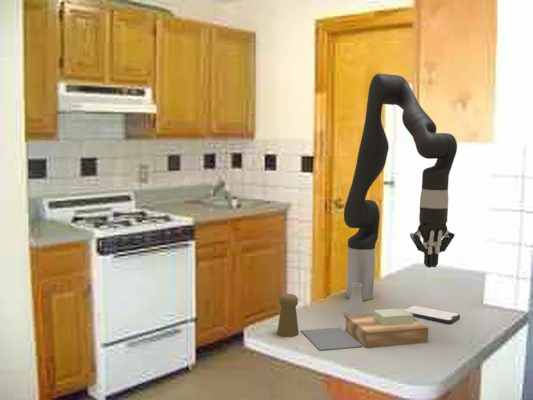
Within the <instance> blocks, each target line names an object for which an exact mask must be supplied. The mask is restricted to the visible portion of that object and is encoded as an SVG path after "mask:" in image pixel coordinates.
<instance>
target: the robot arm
mask: <svg viewBox="0 0 533 400" xmlns="http://www.w3.org/2000/svg"><path fill="white" fill-rule="evenodd" d="M367 93H368V94H367V100H366V101H367V102H366V111H365V119H364V125H363V130H362V133H361V135H362V136H361V139H360V144H359V147H358V153H357V158H356V165H355V169H354V173H353V177H352V182H351V185H350V187H349V188H350V189H349V192H348V195H347V198H346V201H345V206H344V209H343V220H344V223H345V225H346V226H347V227H348V228H349V229H358V230H357V232H356V233H355V234H353V235H352V236H350V237H349V238H348V240H347V255H346V257H347V259H346V266H347V267H346V284H345V286H346V287H345V288H346V291H345V296H346V298H349V299H350V298H351V294H352V284H353V283H359V284H362V287H361V296H362V300H363V301H368V300H373V298H374V288H375V285H374V284H375V264H376V263H375V261H376V243H377V240H378V239H379V228H380V218H381V217H380V215H381V214H380V213H381V212H380V208H379V205H378V204H377V202H375V201H374V200H371V199H366V198H367V195H368V192H369V190H370V188H371V187H372V185H373V184H374V182H375V181H376V180H377V179H378V177H379V176H380V174H381V173H382V172H383V170H384V168H385V166H386V163H387V158H388V152H389V149H390V148H389V140H388V138H387V137H388V136H387V135H386V134H387V133H386V131H385V130H384V126H383V123H382V113H383V112H382V111H383V106H384V105H391V106H398V107H399V108H401V110H402V116H401V120H402V123H403V126H404V127H405V129H406V130H407V132H408V133H409V134H410V135H411V136H412V138H413V141H414V144H415V148H416V151H417V153H418V154H419V156H421V157H422V158H424V159H428V160H430V159H431V160H433V159H435V160H436V162H435V164H434V165H432V166H430V167H426V168H424V169H423V171H422V177H421V179H422V180H421V191H420V199H419V214H418V215H419V216H418V217H419V218H418V219H419V220H418V221H419V225H418V228H417V230H416V231H415V232H414V233H413V232H411V233H410V234H409V237H410V238H411V241H412V242H413V244H414V245H415V247H416V249H417V250H418V251H419V252H421V253H422V254H423V263H424V266H425V267H426V268H430V269H431V268H437V266H438V264H439V255H440V253H443V252H445V251H446V250H447V248H448V247H449V245H450V244H451V242H452V241H453V239H454V238H455V235H456V234H455V233H453V232H451V231H449V230H448V226H447V223H448V215H449V214H448V213H449V212H448V211H449V181H450V180H449V179H450V177H449V176H450V172H451V169H452V167H453V163H454V161H455V158H456V155H457V152H458V151H457V150H458V144H457V139H456V137H455V136H454V135H453V134H452V133H448V132H447V133H446V132H437V125H436V123H435V122H434V121H433V119H432V118H431V117H430V116H429V115H428V114H427V112H426V111H425V110H424V109H423V107H422V106H421V105H420V103H419V101H418V99H417V97H416V95H415V94H414V91H413V90H412V88H411V86H410V84H409V83H408V81H407V79H406V78H404V77H403V76H401V75H398V74H388V73H376V74H375V75H373V76H372V78H371V80H370V84H369V88H368V92H367ZM421 239H422V240H421Z"/></svg>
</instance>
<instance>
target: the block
mask: <svg viewBox="0 0 533 400" xmlns="http://www.w3.org/2000/svg"><path fill="white" fill-rule="evenodd" d="M372 314H373V319H374V320H375V321H377V322H378V323H380V324H381V325H382V326H388V325H401V324H413V318H414V317H413V314H411V313H409V312H408V311H406V310H404V308H403V307H401V308H389V309H387V308H386V309H375V310H373V313H372Z"/></svg>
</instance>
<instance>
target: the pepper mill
mask: <svg viewBox="0 0 533 400" xmlns="http://www.w3.org/2000/svg"><path fill="white" fill-rule="evenodd" d="M278 303H279V305H280V312H279V318H278V325H277V335H278V336H281V337H285V338H293V337H297V336H298V335H299V333H300V332H299V323H298V315H297V306H298V303H299V299H298V296H297V295H296V294H293V293H283V294H282V295H280V296H279V299H278Z"/></svg>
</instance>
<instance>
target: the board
mask: <svg viewBox="0 0 533 400" xmlns="http://www.w3.org/2000/svg"><path fill="white" fill-rule="evenodd" d="M345 331H346V332H347V333H348V334H349V335H350V336H351V335H352V337H353V338H354V339H355V340H356V341H358V342H359V343H360V344H361V345H362V344H363V345H362V346H364V347H366V348H374V347H375V348H376V347H384V346H397V345H398V344H399V345H408V344H419V343H420V344H421V343H428V341H429V327H428V326H427V325H425V324H424V323H422V322H421V321H419V320H416V319H415V317H413V324H401V325H388V326H382V325H381V324H380V323H378V322H377V321H375V320H374V319H373V313H372V314H367V315H355V316H346V317H345ZM399 345H398V346H399Z"/></svg>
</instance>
